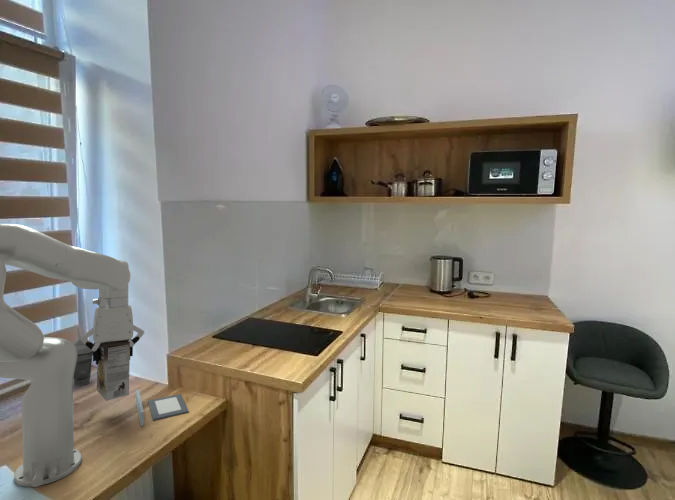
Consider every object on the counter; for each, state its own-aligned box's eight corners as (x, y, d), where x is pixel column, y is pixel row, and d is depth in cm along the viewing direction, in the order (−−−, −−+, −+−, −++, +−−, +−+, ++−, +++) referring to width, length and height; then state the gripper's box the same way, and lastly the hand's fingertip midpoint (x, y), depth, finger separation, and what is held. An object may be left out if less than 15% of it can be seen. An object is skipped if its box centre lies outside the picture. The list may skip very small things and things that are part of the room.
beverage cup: (85, 388, 129) (84, 332, 128) (64, 387, 129) (63, 331, 128) (98, 379, 136) (98, 326, 135) (79, 378, 137) (78, 325, 135)
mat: (188, 412, 116) (188, 410, 116) (153, 420, 111) (153, 418, 111) (180, 395, 127) (180, 393, 127) (148, 401, 122) (148, 400, 122)
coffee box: (95, 391, 112) (96, 338, 111) (119, 385, 117) (120, 334, 116) (105, 401, 106) (105, 345, 105) (129, 395, 111) (130, 341, 110)
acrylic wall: (143, 425, 108) (143, 412, 108) (140, 426, 108) (140, 412, 107) (138, 401, 121) (138, 389, 121) (135, 402, 121) (135, 390, 121)
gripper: (77, 306, 102) (76, 370, 103) (148, 302, 111) (147, 360, 112) (78, 301, 108) (78, 361, 109) (145, 298, 118) (144, 353, 119)
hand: (113, 360), depth 111 cm, fingers closed on coffee box, 7 cm apart
